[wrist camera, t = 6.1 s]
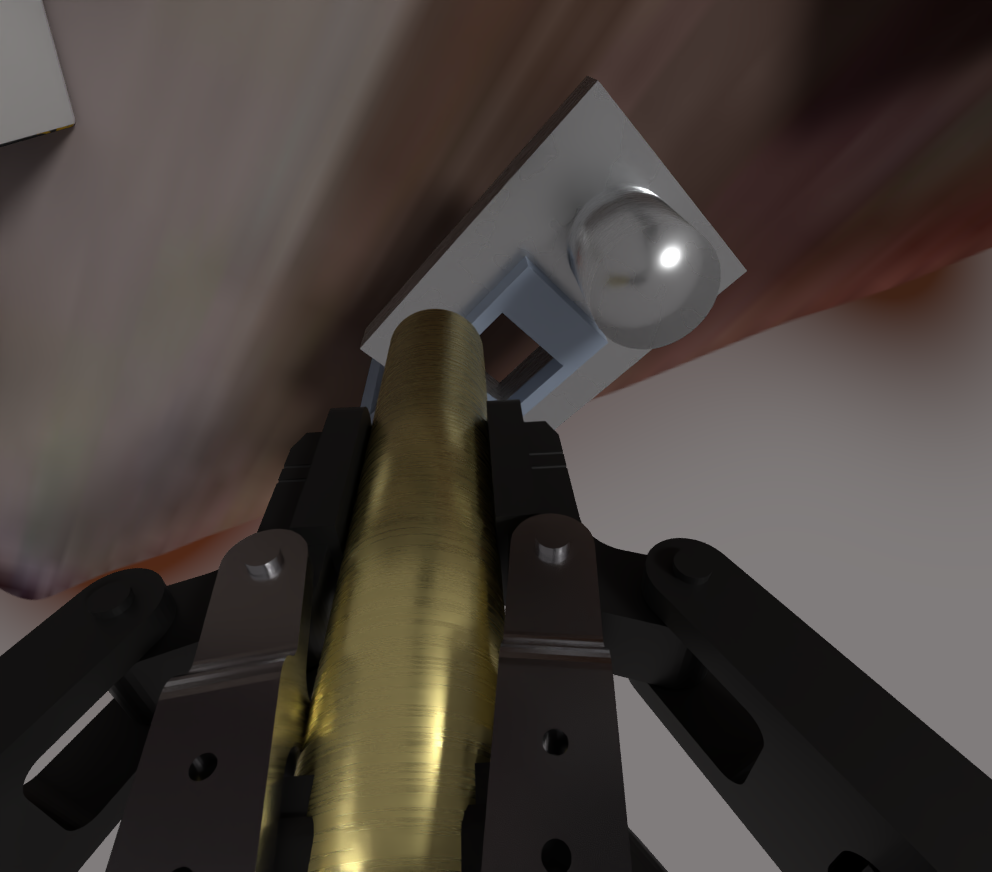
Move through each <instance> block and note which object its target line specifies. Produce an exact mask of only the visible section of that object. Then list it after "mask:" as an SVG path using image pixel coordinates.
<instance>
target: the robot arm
mask: <svg viewBox="0 0 992 872" xmlns="http://www.w3.org/2000/svg"><path fill="white" fill-rule="evenodd" d="M486 408H487V427H488V440H489V454H490V467H491V480H492V493H493V506H494V519H495V532H496V545H497V550H498V553H499V556H500V562H501V572H502V585H503V597H504V606H506V609H505V621H504V634H503V641H501V644H500V651H499V661H498V673H497V685H496V697H495V710H494V722H493V734H492V746H491V758H490V762H485V763H475V797H476V804H473V805H468V806H467V808H466V810H465V813H464V817H463V820H462V824H461V872H668V871H667V870H666V869H665V868H664V867H663V866H662V864H661V863H660V862H659V861H658V860H657V859H656V858H655V856H654V855H653V854H652V853H651V852H650V851H649V850H648V848H647V847H646V846H645V845H644V844H643V843H642V842H641V841H640V839H639V838H638V837H637V836H636V835H635V834H634V833H633V832H632V831H631V830H630V829H629V828H628V825H627V814H626V805H625V804H626V803H625V793H624V783H623V773H622V762H621V752H620V743H619V732H618V721H617V711H616V701H615V691H614V681H613V674H614V675H618V676H622V677H626V678H629V680H630V682H631V684H632V685H633V687H634V688H635V689H636V691H637V692H638V693H639V695H640V696H641V697H642V698H643V699H644V701H645V702H646V703H647V704H648V706H649V707H650V708H651V709H652V710H653V712H654V713H655V714H656V716H657V717H658V718H659V719H660V721H661V722H662V723H663V724H664V726H665V727H666V728H667V729H668V730H669V732H670V733H671V734H672V735H673V737H674V738H675V739H676V741H678V743H679V744H680V746H681V747H682V748H683V749H684V750H685V752H686V753H687V754H688V755H689V757H690V758H691V759H692V760H693V762H694V763H695V764H696V765H697V767H698V768H699V769H700V770H701V772H702V773H703V774H704V775H705V777H706V778H707V779H708V780H709V782H710V783H711V784H712V785H713V787H714V788H715V789H716V790H717V791H718V793H719V794H720V795H721V796H722V798H723V799H724V800H725V801H726V802H727V804H728V805H729V806H730V808H731V809H732V810H733V811H734V813H735V814H736V815H737V816H738V818H739V819H740V820H741V821H742V823H743V824H744V825H745V826H746V828H747V829H748V830H749V831H750V833H751V834H752V835H753V836H754V838H755V839H756V840H757V841H758V842H759V844H760V845H761V846H762V847H763V849H764V850H765V851H766V852H767V854H768V855H769V856H770V857H771V859H772V860H773V861H774V862H775V863H776V865H777V866H778V867H779V869H780V870H781V871H782V872H992V779H991V778H989V777H988V776H987V775H986V774H985V773H983V772H982V771H981V770H980V769H979V768H977V767H976V766H975V765H973V763H971V762H970V761H969V760H968V759H967V758H965V757H964V756H963V755H962V754H961V753H959V752H958V751H957V750H956V749H955V748H954V747H952V746H951V745H950V744H949V743H948V742H946V741H945V740H944V739H943V738H941V736H939V735H938V734H937V733H936V732H935V731H933V730H932V729H931V728H930V727H928V726H927V725H926V724H925V723H924V722H923V721H921V720H920V719H919V718H918V717H916V715H914V714H913V713H912V712H911V711H910V710H908V709H907V708H906V707H905V706H904V705H902V704H901V703H900V702H899V701H897V700H896V699H895V698H894V697H893V696H892V695H890V694H889V693H888V692H887V691H886V690H884V689H883V688H882V687H881V686H880V685H879V684H877V683H876V682H875V681H874V680H873V679H871V678H870V677H869V676H868V675H867V674H865V673H864V672H863V671H862V670H861V669H860V668H858V667H857V666H856V665H855V664H854V663H852V662H851V661H850V660H849V659H848V658H846V657H845V656H844V655H843V654H842V653H840V652H839V651H838V650H837V649H836V648H834V647H833V646H832V645H831V644H830V643H828V642H827V641H826V640H825V639H824V638H823V637H821V636H820V635H819V634H818V633H817V632H815V631H814V630H813V629H812V628H811V627H809V626H808V625H807V624H806V623H805V622H803V621H802V620H801V619H800V618H799V617H798V616H796V615H795V614H794V613H793V612H792V611H790V610H789V609H788V608H787V607H786V606H784V605H783V604H782V603H781V602H780V601H779V600H777V599H776V598H775V597H774V596H773V595H771V594H770V593H769V592H768V591H767V590H765V589H764V588H763V587H762V586H761V585H759V584H758V583H757V582H756V581H754V579H752V578H751V577H750V576H749V575H748V574H746V573H745V572H744V571H743V570H742V569H740V568H739V567H738V566H737V565H736V564H734V563H733V562H732V561H731V560H730V559H728V558H727V557H726V556H725V555H724V554H722V553H721V552H720V551H718V550H717V549H715V548H714V547H712V546H710V545H708V544H706V543H703V542H700V541H697V540H693V539H686V538H673V539H668V540H665V541H662V542H660V543H658V544H656V545H655V546H654V547H653V548H652V549H651V550H650V551H649V553H648V555H644V554H639V553H634V552H629V551H624V550H620V549H616V548H613V547H610V546H607V545H606V544H603V543H602V542H600V541H598V540H597V539H595V538H594V537H593V536H592V534H591V533H590V531H589V530H588V529H587V528H586V527H585V526H584V525H583V524H582V523H581V520H580V517H579V513H578V509H577V505H576V502H575V498H574V493H573V490H572V486H571V482H570V478H569V474H568V470H567V468H566V462H565V459H564V454H563V450H562V446H561V442H560V438H559V435H558V434H557V433H556V431H555V430H554V429H553V428H552V427H551V426H550V425H549V424H548V423H547V422H546V421H533V422H524V420H523V414H522V409H521V403H520V399H514V400H493V401H486ZM371 427H372V424H371V418H370V414H369V411H368V408H367V407H349V408H332V409H330V411H329V414H328V417H327V420H326V422H325V425H324V428H323V431H322V432H315V433H306V434H305V435H304V436H303V437H302V438H301V439H300V440H299V441H298V442H297V443H296V444H295V445H294V446H293V447H292V448H291V450H290V452H289V455H288V457H287V460H286V462H285V464H284V469H282V472H281V474H280V477H279V479H278V480H279V483H277V484H276V487H275V489H274V492H273V494H272V497H271V499H270V502H269V504H268V507H267V509H266V512H265V514H264V517H263V519H262V522H261V524H260V527H259V529H258V531H257V533H255V534H253V535H250V536H248V537H246V538H245V539H243V540H241V541H240V542H238V543H237V544H236V545H234V546H233V547H232V548H231V549H230V550H229V551H228V552H227V553H226V555H225V556H224V558H223V559H222V562H221V564H220V566H219V569H218V570H216V571H214V572H211V573H208V574H205V575H202V576H199V577H195V578H192V579H189V580H186V581H182V582H179V583H175V584H172V585H169V586H166V584H165V583H164V581H163V579H162V578H161V576H160V575H159V574H157V573H156V572H154V571H152V570H149V569H142V568H134V569H127V570H123V571H118V572H116V573H112V574H110V575H107V576H105V577H103V578H101V579H99V580H97V581H96V582H94V583H92V584H91V585H89V586H88V587H86V588H85V589H84V590H82V591H81V592H80V593H79V594H77V595H76V596H75V597H74V598H72V599H71V600H70V601H69V602H67V603H66V604H65V605H64V606H62V607H61V608H60V609H59V610H57V611H56V612H55V613H54V614H52V615H51V616H50V617H49V618H47V619H46V620H45V621H44V622H42V623H41V624H40V625H39V626H37V627H36V628H35V629H34V630H33V631H31V632H30V633H29V634H28V635H26V636H25V637H24V638H23V639H21V640H20V641H19V642H18V643H16V644H15V645H14V646H13V647H11V648H10V649H9V650H8V651H6V652H5V653H4V654H3V655H1V656H0V872H78V871H79V869H80V868H81V867H82V866H83V865H84V863H85V862H86V861H87V860H88V858H89V857H90V856H91V855H92V854H93V853H94V851H95V850H96V849H97V848H98V847H99V845H100V844H101V843H102V842H103V841H104V839H105V838H106V837H107V836H108V835H109V833H110V832H111V831H112V830H113V829H114V827H115V826H116V825H117V824H118V823H119V821H120V820H121V822H120V826H119V829H118V832H117V835H116V839H115V842H114V845H113V849H112V852H111V855H110V858H109V861H108V864H107V868H106V871H105V872H308V867H309V861H310V856H311V850H312V845H313V838H314V823H313V818H312V816H310V817H306V816H307V811H308V805H309V800H310V795H311V790H312V785H313V780H314V775H302V776H294V775H295V771H296V766H297V762H298V759H299V757H300V755H301V752H302V746H303V740H304V734H305V729H306V723H307V717H308V712H309V707H310V703H311V698H312V694H313V689H314V685H315V680H316V676H317V671H318V667H319V662H320V658H321V653H322V649H323V644H324V639H325V635H326V630H327V626H328V621H329V617H330V612H331V608H332V603H333V599H334V594H335V590H336V585H337V581H338V576H339V572H340V567H341V563H342V558H343V554H344V549H345V545H346V540H347V535H348V531H349V526H350V522H351V517H352V513H353V508H354V504H355V499H356V495H357V490H358V486H359V481H360V477H361V472H362V468H363V463H364V459H365V454H366V450H367V445H368V441H369V436H370V431H371ZM107 691H109V692H110V693H111V695H112V696H113V697H114V699H113V700H112V701H111V702H110V703H109V704H108V705H107V706H106V707H105V708H104V709H103V710H102V711H101V712H100V713H99V714H98V715H97V716H96V717H95V718H94V719H93V720H92V721H91V722H90V723H89V724H88V725H87V726H86V727H85V728H84V729H83V730H82V731H81V732H80V733H79V734H78V735H77V736H76V737H75V738H74V739H73V740H72V741H71V742H70V743H69V744H68V745H67V746H66V747H65V748H64V749H63V750H62V751H61V752H60V753H59V754H58V755H57V756H56V757H55V758H54V759H53V760H52V761H51V762H50V763H49V764H48V765H47V766H46V767H45V768H44V769H43V770H42V771H41V772H40V773H39V774H38V775H37V776H35V777H34V778H33V779H32V780H31V781H29V782H28V783H26V784H24V780H25V778H26V776H27V774H28V772H29V770H30V769H31V767H32V766H33V765H34V763H35V762H36V761H37V760H38V759H39V758H40V757H41V756H42V755H43V754H44V753H45V752H46V751H47V750H48V749H49V748H50V747H51V746H52V745H53V744H54V743H55V742H56V741H57V740H58V739H59V738H60V737H61V736H62V735H63V734H64V733H65V732H66V731H67V730H68V729H69V728H70V727H71V726H72V725H73V724H74V723H75V722H76V721H77V720H78V719H79V718H80V717H82V715H84V714H85V712H87V711H88V710H89V709H90V708H91V707H92V706H93V705H94V704H95V703H96V702H97V701H98V700H99V698H101V697H102V696H103V695H104V694H105V693H106V692H107ZM23 784H24V785H23Z"/></svg>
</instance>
